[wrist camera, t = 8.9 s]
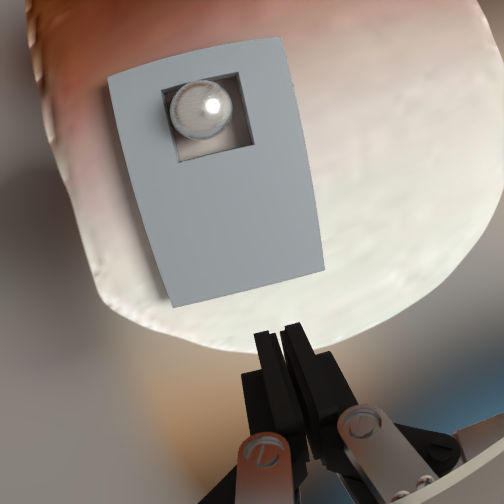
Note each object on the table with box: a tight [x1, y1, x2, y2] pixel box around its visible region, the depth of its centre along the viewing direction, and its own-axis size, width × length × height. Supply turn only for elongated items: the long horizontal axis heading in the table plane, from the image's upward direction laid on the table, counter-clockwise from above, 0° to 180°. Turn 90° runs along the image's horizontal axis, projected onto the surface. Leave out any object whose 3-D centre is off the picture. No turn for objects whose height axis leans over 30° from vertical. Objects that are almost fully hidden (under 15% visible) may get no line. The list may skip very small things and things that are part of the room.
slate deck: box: [107, 37, 325, 308], centre depth 26 cm, size 22×15×2 cm
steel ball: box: [170, 80, 233, 140], centre depth 22 cm, size 5×5×5 cm
